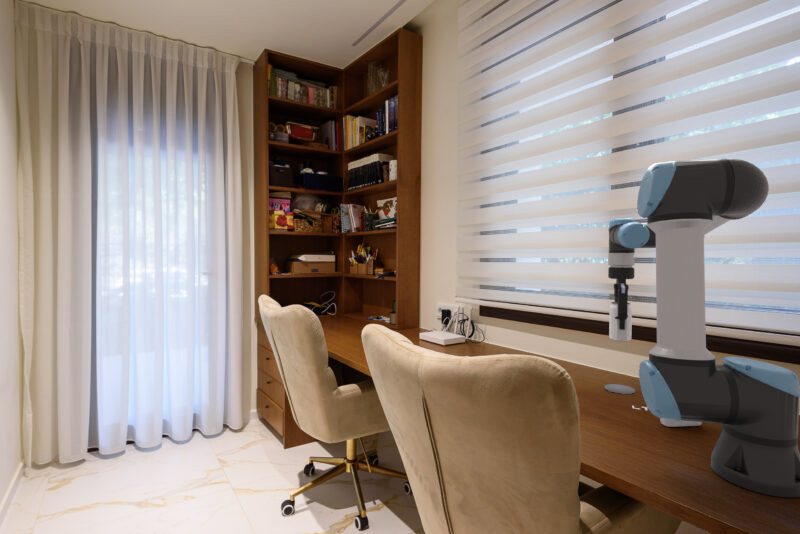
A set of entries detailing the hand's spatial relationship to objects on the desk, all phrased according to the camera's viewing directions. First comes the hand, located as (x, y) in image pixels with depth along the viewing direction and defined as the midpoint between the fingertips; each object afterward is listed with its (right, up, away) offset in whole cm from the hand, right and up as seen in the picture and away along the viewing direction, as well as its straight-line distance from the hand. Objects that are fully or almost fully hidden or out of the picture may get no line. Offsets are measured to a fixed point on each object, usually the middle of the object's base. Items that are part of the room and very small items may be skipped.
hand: (620, 337), depth 139 cm
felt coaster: (0, -17, +1) cm, 17 cm away
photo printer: (+2, -19, -27) cm, 33 cm away
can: (0, -1, 0) cm, 1 cm away
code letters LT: (-2, -18, -16) cm, 24 cm away
